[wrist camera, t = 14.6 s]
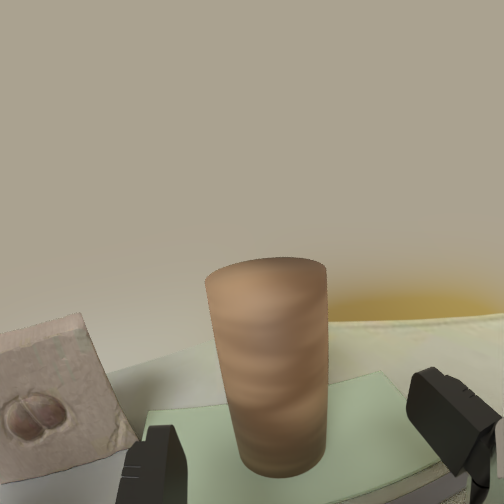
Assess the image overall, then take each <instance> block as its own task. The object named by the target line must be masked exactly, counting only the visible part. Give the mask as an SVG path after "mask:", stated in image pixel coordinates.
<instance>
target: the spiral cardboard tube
mask: <svg viewBox="0 0 504 504" xmlns="http://www.w3.org/2000/svg"><path fill="white" fill-rule="evenodd" d="M205 286H206V292H207V298H208V304H209V310H210V315H211V321H212V326H213V332H214V337H215V343H216V348H217V353H218V358H219V364H220V369H221V373H222V378H223V383H224V388H225V393H226V398H227V402H228V407H229V411H230V416H231V420H232V425H233V429H234V433H235V438H236V442H237V446H238V450H239V455H240V458H241V460H242V462H243V463H244V465H245V466H246V467H247V468H248V469H250V470H251V471H252V472H254V473H256V474H258V475H261V476H264V477H268V478H278V479H280V478H290V477H294V476H298V475H301V474H303V473H305V472H307V471H309V470H310V469H312V468H313V467H314V466H316V465H317V464H318V463H319V461H320V460H321V459H322V457H323V455H324V453H325V449H326V433H327V409H328V301H327V275H326V268H325V266H324V265H323V264H321V263H319V262H317V261H313V260H310V259H304V258H294V257H276V258H263V259H255V260H249V261H244V262H240V263H236V264H232V265H229V266H226V267H223V268H221V269H218V270H216V271H215V272H213V273H211V274H210V275H209V276H208V277H207V278H206V279H205Z"/></svg>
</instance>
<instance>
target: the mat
mask: <svg viewBox="0 0 504 504" xmlns="http://www.w3.org/2000/svg"><path fill="white" fill-rule="evenodd" d="M406 403H407V400H406V399H405V398H404V397H403V395H402V394H401V393H400V392H399V391H398V390H397V388H396V387H395V386H394V385H393V384H392V383H391V382H390V380H389V379H388V378H387V377H386V376H385V375H384V374H383V372H382V371H378V372H374V373H371V374H368V375H364V376H361V377H357V378H354V379H350V380H346V381H343V382H339V383H335V384H331V385H328V409H327V433H326V449H325V453H324V455H323V457H322V459H321V460H320V461H319V463H318V464H317V465H316V466H314V467H313V468H312V469H310V470H309V471H307V472H305V473H303V474H301V475H298V476H294V477H290V478H280V479H278V478H268V477H264V476H261V475H258V474H256V473H254V472H252V471H251V470H250V469H248V468H247V467H246V466H245V465H244V463H243V462H242V460H241V458H240V455H239V450H238V446H237V442H236V438H235V433H234V429H233V425H232V420H231V416H230V411H229V407H228V404H223V405H215V406H206V407H196V408H185V409H171V410H154V411H148V414H147V419H146V423H145V428H144V432H143V437H142V441H145V440H146V435H147V430H148V427H149V426H150V425H171V424H172V425H173V426H174V427H175V430H176V432H177V435H178V438H179V440H180V443H181V445H182V448H183V450H184V452H185V455H186V459H187V465H188V494H187V504H335V503H339V502H342V501H345V500H348V499H351V498H355V497H358V496H360V495H363V494H366V493H369V492H372V491H374V490H377V489H380V488H382V487H385V486H387V485H390V484H392V483H395V482H397V481H399V480H402V479H404V478H406V477H408V476H411V475H413V474H415V473H417V472H419V471H421V470H423V469H425V468H427V467H429V466H431V465H433V464H435V463H437V462H439V461H441V459H440V458H439V457H438V455H437V454H436V453H435V452H434V450H433V449H432V448H431V447H430V445H429V444H428V443H427V442H426V440H425V439H424V438H423V437H422V436H421V434H420V433H419V432H418V431H417V429H416V428H415V427H414V426H413V424H412V423H411V422H410V421H409V419H408V417H407V413H406Z"/></svg>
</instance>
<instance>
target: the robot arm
mask: <svg viewBox="0 0 504 504" xmlns="http://www.w3.org/2000/svg"><path fill="white" fill-rule="evenodd" d="M406 413H407V417H408V419H409V421H410V422H411V423H412V424H413V426H414V427H415V428H416V429H417V431H418V432H419V433H420V434H421V436H422V437H423V438H424V439H425V440H426V442H427V443H428V444H429V445H430V447H431V448H432V449H433V450H434V452H435V453H436V454H437V455H438V457H439V458H440V459H441V460H442V462H443V463H444V464H445V465H446V467H447V468H448V469H449V470H450V472H451V473H452V474H453V475H454V477H455V478H456V477H458V476H460V475H461V474H463V473H464V472H466V471H467V472H468V473H469V476H468V478H467V485H466V495H465V504H504V418H503V417H501V416H500V415H499V414H498V413H497V412H495V411H494V410H493V409H492V408H491V407H490V406H489V405H488V404H486V403H485V402H484V401H483V400H482V399H481V398H479V397H478V396H477V395H476V396H475V393H474V392H473V391H471V390H470V389H469V390H468V387H467V386H466V385H464V384H463V383H462V382H461V381H460V380H458V379H456V378H453V377H451V376H448V375H445V376H444V375H443V374H442V373H441V372H440V371H439V370H438V369H436V368H435V367H430V368H427V369H425V370H422V371H420V372H417V373H415V374H413V376H412V379H411V384H410V389H409V394H408V399H407V403H406ZM121 476H122V478H121V479H120V484H119V489H118V493H117V498H116V503H115V504H187V494H188V465H187V459H186V455H185V452H184V450H183V448H182V445H181V443H180V440H179V438H178V435H177V432H176V430H175V427H174V426H173V425H172V424H171V425H150V426H149V427H148V430H147V435H146V440H145V441H135V442H134V444H133V445H132V446H131V448H130V449H129V450H128V451H127V453H126V457H125V462H124V468H123V470H122V475H121Z"/></svg>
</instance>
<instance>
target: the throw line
mask: <svg viewBox="0 0 504 504" xmlns="http://www.w3.org/2000/svg"><path fill="white" fill-rule="evenodd" d="M468 476H469V475H468V473H467V472H464V473H463V474H461V475H460V476H458V477H456V478H455V477H454V475H453V474H452V473H451V472H449V473H448V474H446V475H444V476H442V477H440V478H439V479H437V480H435V481H433V482H431V483H429V484H427V485H425V486H423V487H421V488H419V489H417V490H415V491H413V492H411V493H408V494H406V495H404V496H402V497H399V498H397V499H395V500H392V501H390V502H388V503H385V504H440V503H442V502H444V501H445V500H447V499H449V498H451V497H452V496H454V495H456V494H457V493H459V492H460V491H462V490H464V489H465V488H466V485H467V478H468Z"/></svg>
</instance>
